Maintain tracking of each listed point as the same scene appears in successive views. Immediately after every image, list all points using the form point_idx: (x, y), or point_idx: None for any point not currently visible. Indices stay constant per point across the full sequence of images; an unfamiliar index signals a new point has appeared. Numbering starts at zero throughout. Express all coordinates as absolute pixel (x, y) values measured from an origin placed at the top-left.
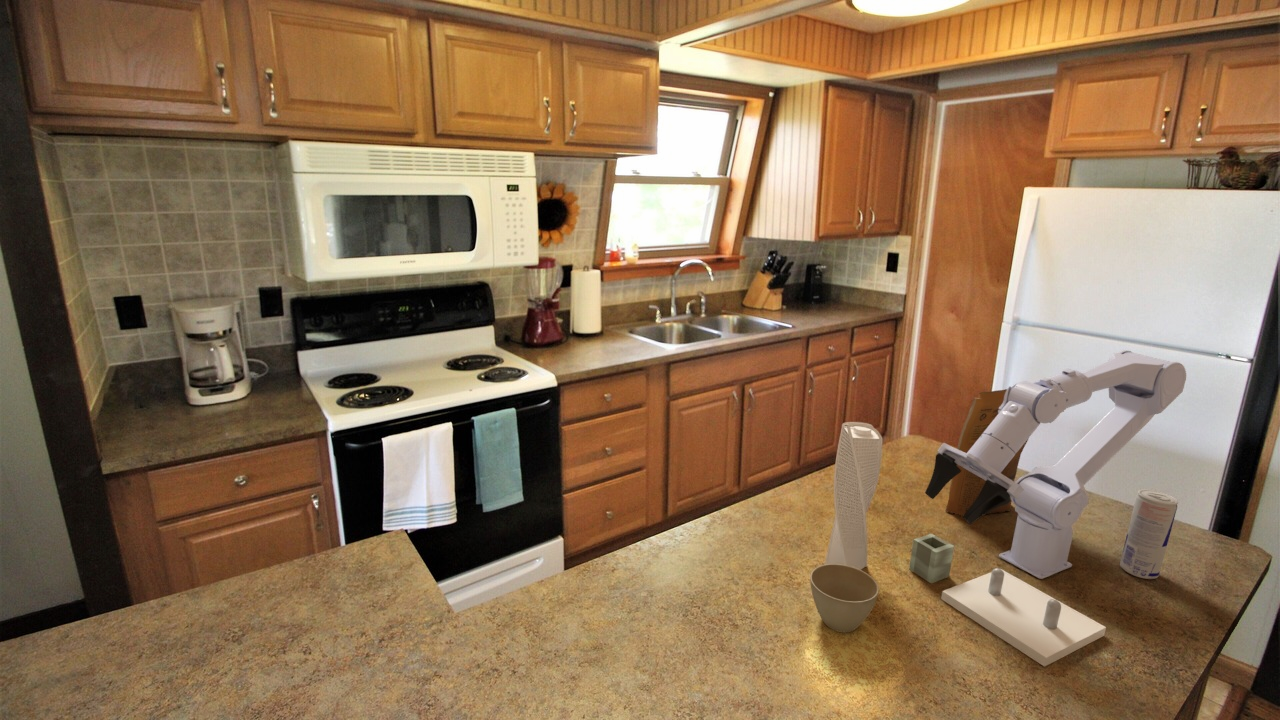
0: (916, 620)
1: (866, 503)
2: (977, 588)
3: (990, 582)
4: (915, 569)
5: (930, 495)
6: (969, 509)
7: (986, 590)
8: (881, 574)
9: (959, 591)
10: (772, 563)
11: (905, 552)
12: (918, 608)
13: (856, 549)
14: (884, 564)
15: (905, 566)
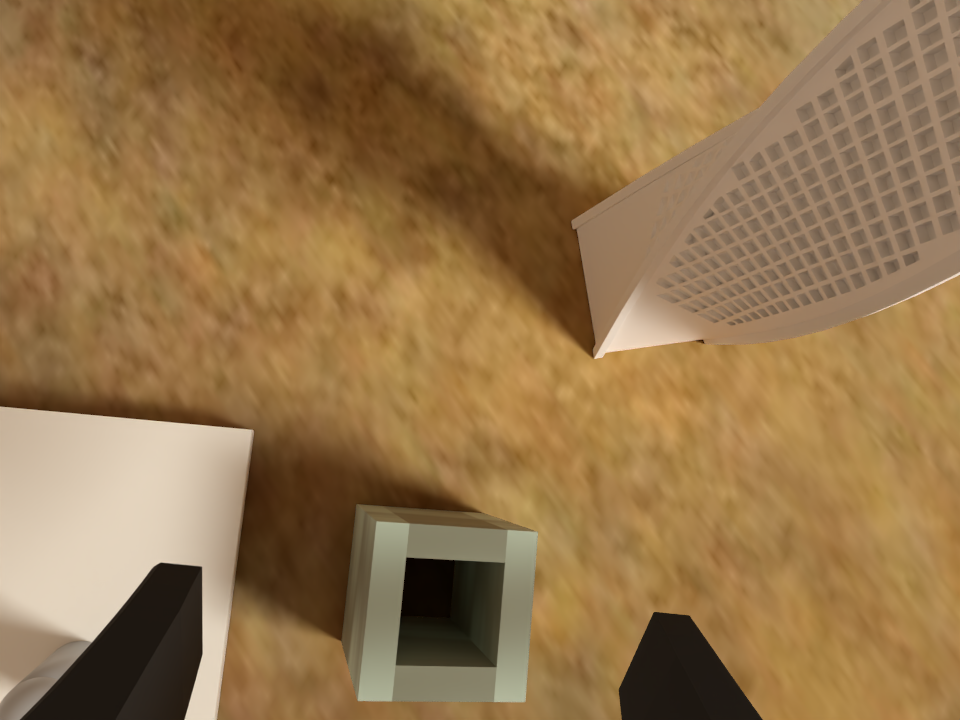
0: (225, 190)
1: (827, 156)
2: None
3: None
4: (454, 512)
5: (643, 655)
6: (142, 639)
7: None
8: (522, 361)
9: (199, 507)
10: (783, 49)
11: (583, 629)
12: (272, 275)
13: (647, 238)
14: (566, 444)
15: (508, 520)
